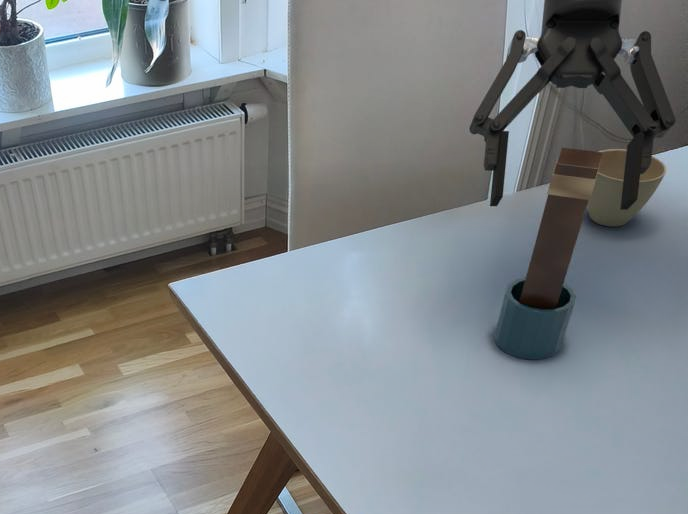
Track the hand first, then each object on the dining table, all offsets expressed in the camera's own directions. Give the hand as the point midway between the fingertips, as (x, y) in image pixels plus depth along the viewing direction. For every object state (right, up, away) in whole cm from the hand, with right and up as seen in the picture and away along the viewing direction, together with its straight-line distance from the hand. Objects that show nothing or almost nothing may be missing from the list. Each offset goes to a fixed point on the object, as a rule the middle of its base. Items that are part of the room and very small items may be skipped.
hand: (561, 203), depth 93 cm
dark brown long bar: (0, -10, +11) cm, 15 cm away
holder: (0, -11, +11) cm, 15 cm away
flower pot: (+18, +12, +29) cm, 37 cm away
